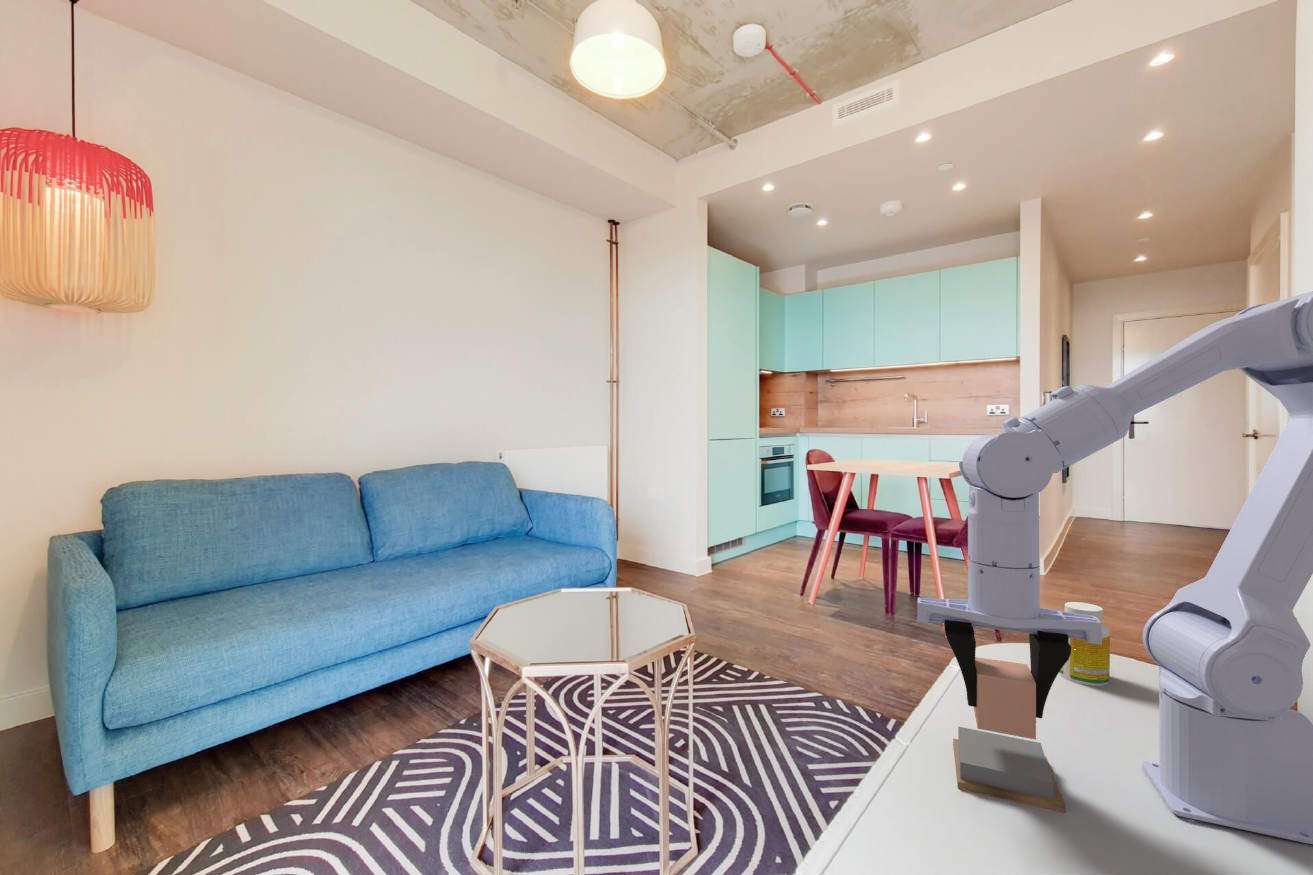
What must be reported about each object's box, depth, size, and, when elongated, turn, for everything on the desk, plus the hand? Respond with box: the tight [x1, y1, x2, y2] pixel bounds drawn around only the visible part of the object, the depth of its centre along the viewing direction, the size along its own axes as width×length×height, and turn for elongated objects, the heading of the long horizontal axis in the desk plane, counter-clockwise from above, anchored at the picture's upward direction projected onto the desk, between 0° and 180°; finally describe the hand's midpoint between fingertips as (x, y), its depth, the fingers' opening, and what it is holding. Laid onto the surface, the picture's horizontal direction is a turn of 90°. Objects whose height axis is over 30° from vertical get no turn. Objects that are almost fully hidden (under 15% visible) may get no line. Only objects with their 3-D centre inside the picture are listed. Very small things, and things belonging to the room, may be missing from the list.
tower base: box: [952, 738, 1066, 814], centre depth 53 cm, size 8×8×2 cm
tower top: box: [957, 726, 1053, 800], centre depth 53 cm, size 7×7×2 cm
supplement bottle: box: [1058, 601, 1111, 687], centre depth 73 cm, size 5×5×10 cm
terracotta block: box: [973, 656, 1037, 740], centre depth 53 cm, size 4×4×5 cm
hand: (1003, 707), depth 53 cm, fingers closed on terracotta block, 4 cm apart
